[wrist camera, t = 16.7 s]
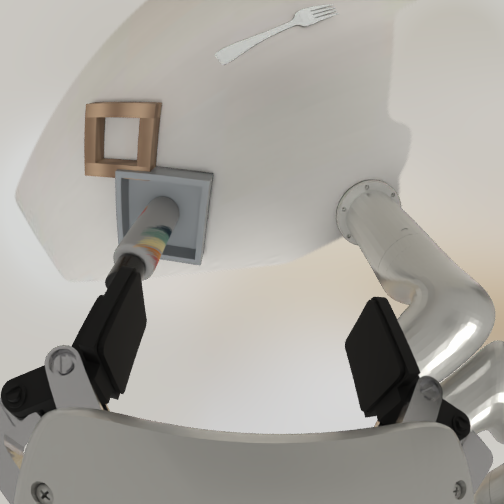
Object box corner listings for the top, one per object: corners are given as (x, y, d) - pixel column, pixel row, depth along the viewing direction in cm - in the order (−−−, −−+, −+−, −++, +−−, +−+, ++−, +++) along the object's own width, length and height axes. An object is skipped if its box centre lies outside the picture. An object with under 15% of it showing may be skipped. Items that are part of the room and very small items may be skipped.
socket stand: (161, 102, 35) (155, 103, 33) (155, 175, 42) (149, 181, 39) (95, 102, 34) (86, 104, 31) (93, 169, 40) (85, 175, 38)
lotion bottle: (145, 220, 45) (97, 298, 29) (151, 191, 42) (97, 262, 26) (175, 230, 46) (140, 313, 30) (183, 201, 44) (145, 278, 27)
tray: (213, 173, 42) (209, 181, 39) (203, 252, 50) (200, 265, 47) (125, 163, 40) (115, 170, 37) (127, 240, 48) (119, 252, 45)
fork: (214, 55, 34) (210, 54, 31) (333, 1, 26) (337, -3, 24) (224, 69, 35) (220, 68, 33) (342, 15, 27) (347, 12, 25)
